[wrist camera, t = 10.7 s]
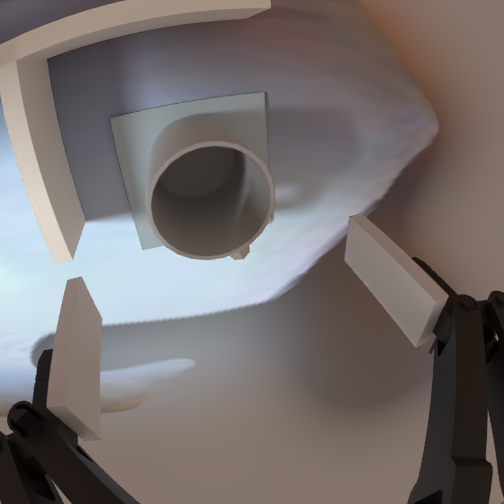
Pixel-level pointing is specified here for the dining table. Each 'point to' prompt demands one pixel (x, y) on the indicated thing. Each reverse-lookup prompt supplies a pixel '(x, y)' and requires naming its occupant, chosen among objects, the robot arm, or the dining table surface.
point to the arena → (43, 108)
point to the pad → (156, 119)
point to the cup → (206, 190)
